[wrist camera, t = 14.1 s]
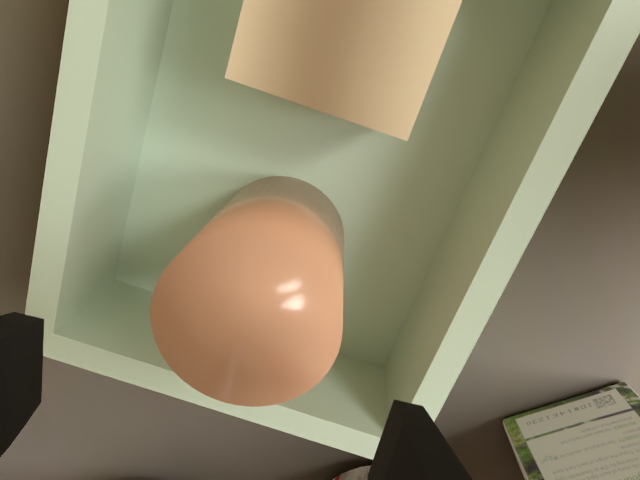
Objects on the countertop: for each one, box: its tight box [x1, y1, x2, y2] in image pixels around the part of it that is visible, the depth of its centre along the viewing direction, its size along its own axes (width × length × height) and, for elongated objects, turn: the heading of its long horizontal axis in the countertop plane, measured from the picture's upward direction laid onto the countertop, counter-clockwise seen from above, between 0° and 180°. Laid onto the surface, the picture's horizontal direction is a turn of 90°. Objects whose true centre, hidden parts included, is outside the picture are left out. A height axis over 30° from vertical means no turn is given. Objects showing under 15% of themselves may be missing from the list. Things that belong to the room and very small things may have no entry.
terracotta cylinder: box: [150, 176, 344, 407], centre depth 16 cm, size 5×5×7 cm
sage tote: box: [25, 0, 640, 460], centre depth 16 cm, size 14×18×5 cm
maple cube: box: [225, 0, 462, 141], centre depth 14 cm, size 5×5×5 cm
